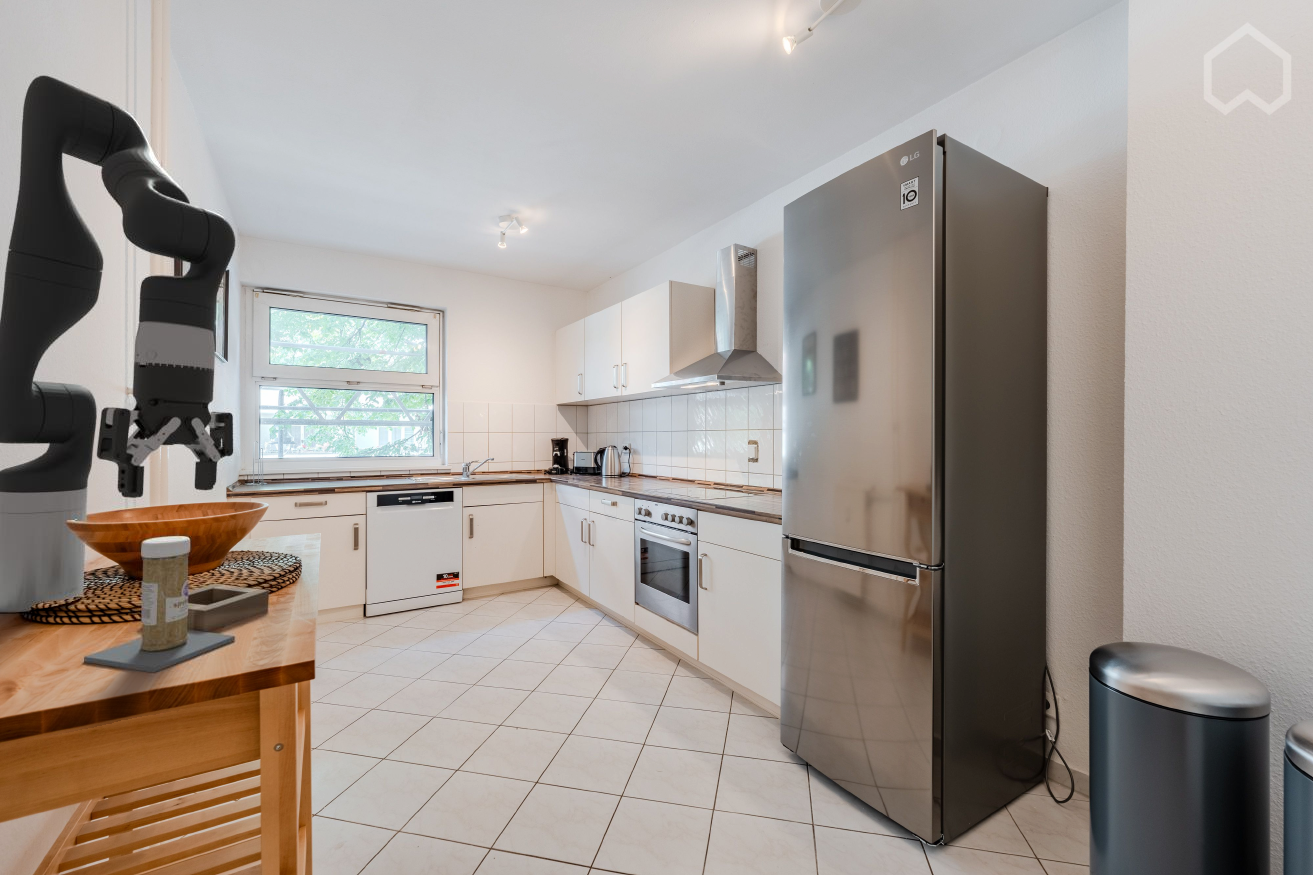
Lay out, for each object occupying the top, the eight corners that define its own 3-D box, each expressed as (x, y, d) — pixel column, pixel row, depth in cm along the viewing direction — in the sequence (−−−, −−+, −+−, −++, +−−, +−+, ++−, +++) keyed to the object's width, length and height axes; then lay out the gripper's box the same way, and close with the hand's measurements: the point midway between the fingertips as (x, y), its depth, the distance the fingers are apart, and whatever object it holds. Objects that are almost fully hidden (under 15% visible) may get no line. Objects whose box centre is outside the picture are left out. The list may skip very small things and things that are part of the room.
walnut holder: (144, 624, 77) (145, 602, 76) (213, 602, 86) (214, 583, 86) (204, 632, 75) (205, 610, 75) (268, 609, 85) (268, 590, 85)
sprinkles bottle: (189, 646, 69) (191, 539, 68) (139, 655, 66) (141, 544, 65) (187, 635, 72) (189, 533, 72) (139, 643, 69) (141, 537, 69)
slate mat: (83, 661, 65) (84, 656, 65) (172, 631, 74) (172, 627, 74) (153, 672, 63) (153, 667, 63) (234, 640, 73) (234, 635, 73)
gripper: (206, 369, 76) (201, 485, 76) (82, 354, 62) (76, 497, 62) (252, 371, 75) (247, 490, 75) (136, 356, 61) (130, 502, 61)
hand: (169, 493), depth 68 cm, fingers open, 8 cm apart
